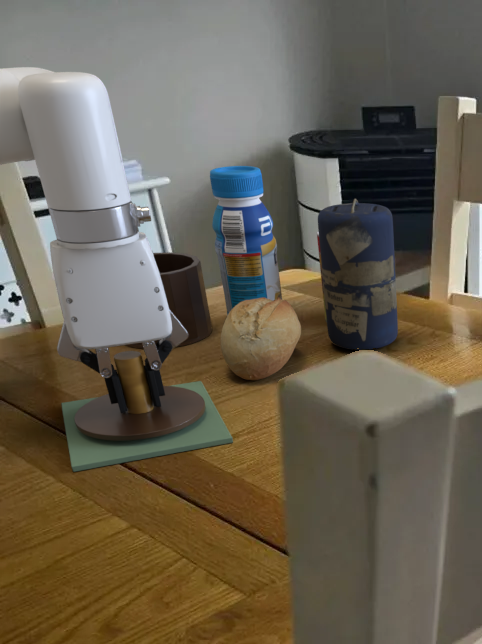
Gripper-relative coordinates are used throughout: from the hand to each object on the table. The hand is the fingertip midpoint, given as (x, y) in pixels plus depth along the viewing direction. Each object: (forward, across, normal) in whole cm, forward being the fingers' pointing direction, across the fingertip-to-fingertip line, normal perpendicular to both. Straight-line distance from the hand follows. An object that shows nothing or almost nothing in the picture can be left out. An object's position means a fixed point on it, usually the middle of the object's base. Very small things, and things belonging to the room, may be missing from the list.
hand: (139, 404), depth 90 cm
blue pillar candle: (+3, -31, -15) cm, 35 cm away
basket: (+2, -7, -31) cm, 32 cm away
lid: (+1, 0, 0) cm, 1 cm away
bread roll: (+3, -17, -13) cm, 22 cm away
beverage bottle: (+2, -20, -31) cm, 37 cm away
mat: (+2, 0, 0) cm, 2 cm away
